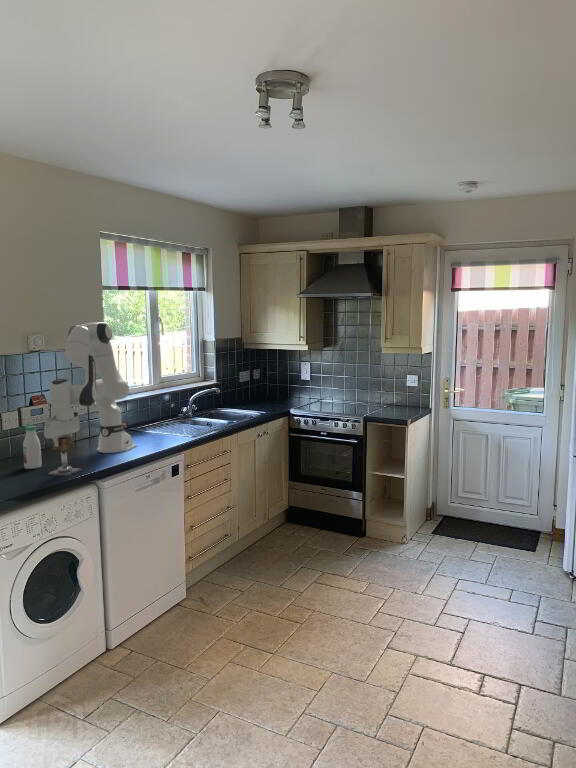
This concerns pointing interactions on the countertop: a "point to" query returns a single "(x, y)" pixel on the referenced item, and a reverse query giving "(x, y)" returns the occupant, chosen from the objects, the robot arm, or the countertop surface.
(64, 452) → the post
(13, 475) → the countertop surface
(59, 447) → the collar
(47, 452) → the countertop surface
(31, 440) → the milk bottle
